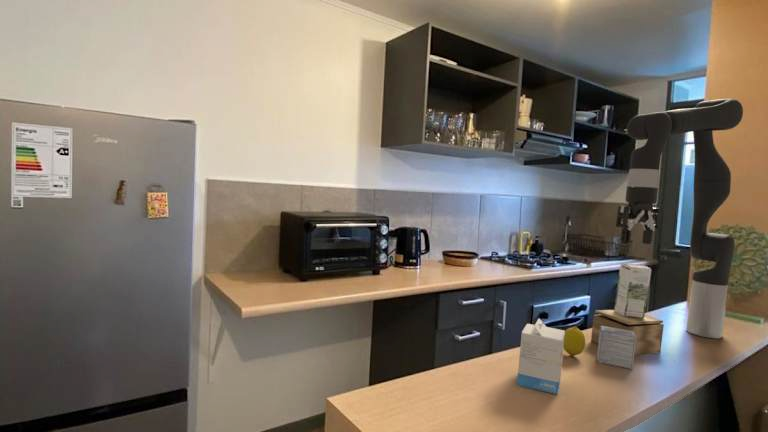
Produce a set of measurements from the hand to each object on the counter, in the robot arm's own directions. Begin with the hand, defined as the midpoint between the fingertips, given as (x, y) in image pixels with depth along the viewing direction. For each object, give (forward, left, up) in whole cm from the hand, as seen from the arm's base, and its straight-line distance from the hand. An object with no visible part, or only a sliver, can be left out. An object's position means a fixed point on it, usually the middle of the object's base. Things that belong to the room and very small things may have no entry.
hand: (636, 243), depth 118 cm
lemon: (+22, +2, -30) cm, 37 cm away
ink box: (+42, +12, -30) cm, 53 cm away
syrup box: (0, 0, -21) cm, 21 cm away
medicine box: (+14, +8, -30) cm, 34 cm away
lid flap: (0, 0, -21) cm, 21 cm away
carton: (0, 0, -30) cm, 30 cm away
